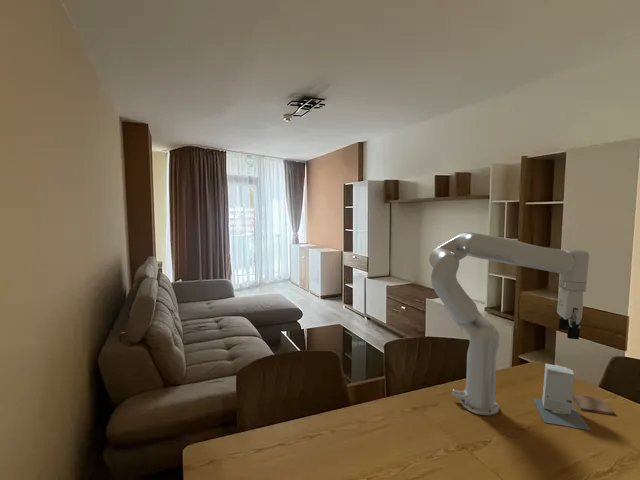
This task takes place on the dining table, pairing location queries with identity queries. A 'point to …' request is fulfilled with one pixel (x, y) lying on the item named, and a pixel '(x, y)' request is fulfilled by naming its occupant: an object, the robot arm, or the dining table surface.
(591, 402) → the coaster
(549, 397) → the skincare box
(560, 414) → the gray tile
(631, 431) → the dining table surface
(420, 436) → the dining table surface
